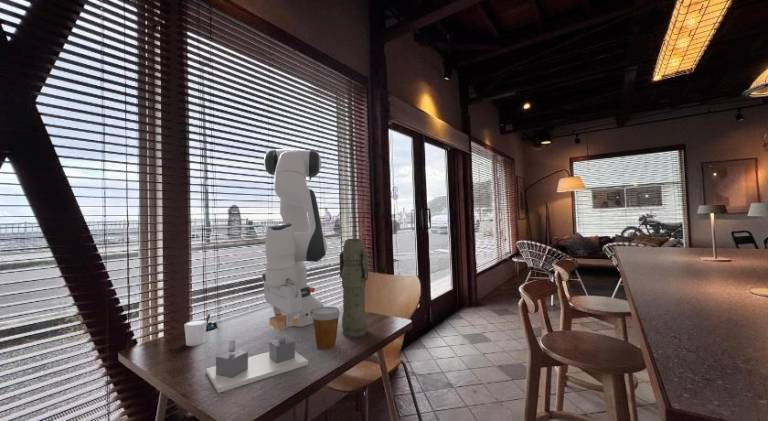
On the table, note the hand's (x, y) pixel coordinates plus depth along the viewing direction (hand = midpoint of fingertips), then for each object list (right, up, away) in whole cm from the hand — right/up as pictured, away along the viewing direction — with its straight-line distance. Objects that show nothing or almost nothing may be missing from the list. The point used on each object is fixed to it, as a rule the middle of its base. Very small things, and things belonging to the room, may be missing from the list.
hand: (283, 322), depth 99 cm
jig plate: (-6, -11, -5) cm, 14 cm away
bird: (-39, -13, +31) cm, 52 cm away
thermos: (+19, -12, +23) cm, 32 cm away
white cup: (-35, -13, +16) cm, 41 cm away
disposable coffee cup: (+11, -12, +11) cm, 19 cm away
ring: (0, -1, 0) cm, 1 cm away
